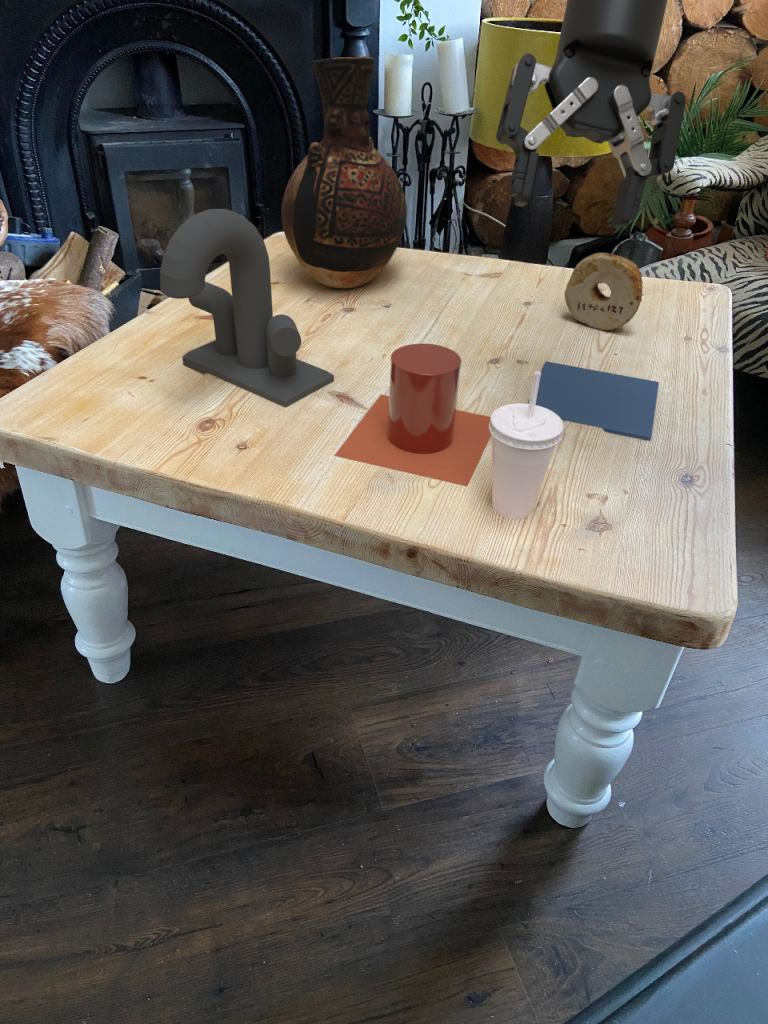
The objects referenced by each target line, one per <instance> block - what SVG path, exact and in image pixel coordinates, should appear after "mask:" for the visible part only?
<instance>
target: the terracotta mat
mask: <svg viewBox="0 0 768 1024" xmlns="http://www.w3.org/2000/svg"><path fill="white" fill-rule="evenodd" d="M388 411H389V395H386V394H381V393H380V395H379V396H378V397H377V399H376V400H375V401H374V403H373V404H372V405H371V407H370V408H369V409H368V411H366V413H365V415H364V416H363V417H362V419H361V420H360V421H359V422H358V423H357V425H356V426H355V427H354V428H353V430H352V432H351V433H350V434H349V435H348V437H347V438H345V440H344V442H343V443H342V444H341V446H340V447H339V448H338V450H337V451H336V452H335V453H334V454H333V456H334V457H337V458H342V459H345V460H350V461H355V462H359V463H364V464H368V465H372V466H375V467H381V468H385V469H389V470H394V471H398V472H403V473H407V474H411V475H416V476H420V477H424V478H429V479H432V480H436V481H442V482H444V483H445V482H446V483H450V484H454V485H459V486H463V487H468V486H469V483H470V481H471V480H472V478H473V476H474V473H475V472H476V469H477V467H478V465H479V463H480V460H481V459H482V456H483V454H484V452H485V450H486V447H487V446H488V443H489V441H490V440H491V438H492V434H491V433H490V430H489V423H490V419H491V416H488V415H483V414H479V413H474V412H469V411H465V410H459V409H456V416H455V426H454V435H453V441H452V443H451V445H450V446H449V447H447V448H446V449H444V450H442V451H439V452H436V453H430V454H417V453H410V452H407V451H404V450H401V449H399V448H397V447H395V446H394V445H393V444H392V443H391V442H390V441H389V439H388Z"/></svg>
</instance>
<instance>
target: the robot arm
mask: <svg viewBox="0 0 768 1024" xmlns="http://www.w3.org/2000/svg"><path fill="white" fill-rule="evenodd" d="M667 5H668V0H566V6H565V10H564V14H563V19H562V26H561V30H560V35H559V38H558V39H559V40H558V45H557V48H556V55H555V58H554V62H553V64H552V66H548V65H545V64H543V63H539V62H537V59H536V57H535V56H534V55H533V54H532V53H529V52H527V53H525V54H523V55H522V56H521V58H520V59H519V60H518V62H517V63H516V64H515V66H514V67H513V68H512V70H511V74H510V78H509V82H508V86H507V91H506V93H505V97H504V102H503V106H502V111H501V114H500V118H499V122H498V127H497V129H496V134H495V135H496V136H495V139H496V140H497V143H499V144H501V145H506V146H507V147H509V148H510V149H511V150H512V151H513V152H514V156H515V157H514V163H513V168H512V174H511V178H510V184H509V190H508V191H509V197H513V198H514V200H513V205H514V206H518V207H520V208H523V207H525V206H526V205H528V204H529V202H530V200H531V194H532V192H533V186H534V181H535V176H536V171H537V167H538V162H539V156H540V152H537V149H538V147H539V146H540V145H541V144H542V143H544V142H545V140H547V139H548V138H549V137H550V136H551V135H552V134H553V133H554V132H555V131H556V130H557V129H558V128H560V129H561V130H562V131H563V132H564V133H565V136H566V137H571V138H585V139H587V140H589V141H590V142H592V143H594V144H595V143H596V144H599V145H602V144H604V143H606V142H607V144H608V146H609V149H610V152H611V153H612V156H613V157H614V158H616V160H617V162H618V164H619V167H620V169H621V172H622V175H623V177H624V179H621V180H620V181H619V185H618V190H617V195H616V199H615V203H614V208H613V211H612V212H613V213H612V217H611V223H610V226H611V228H615V229H619V230H620V229H623V228H625V227H627V226H628V225H629V224H630V222H632V221H635V220H636V218H637V216H638V214H639V212H640V207H641V204H642V198H643V194H644V191H645V185H646V183H647V180H649V179H650V180H655V179H657V178H659V177H661V176H663V175H665V174H667V173H670V172H671V171H673V169H674V167H675V163H676V157H677V151H678V146H679V140H680V135H681V134H680V133H681V129H682V122H683V117H684V111H685V106H686V101H687V100H686V95H685V94H684V93H683V92H682V91H676V92H674V93H673V94H670V95H669V94H662V93H657V92H652V89H651V84H650V83H651V81H650V77H651V73H652V70H653V66H654V63H655V58H656V54H657V50H658V45H659V40H660V36H661V31H662V27H663V23H664V18H665V14H666V9H667ZM542 84H544V89H545V92H546V95H547V97H548V100H549V103H550V106H551V108H552V110H551V111H550V113H548V114H547V115H546V116H545V117H544V118H543V119H542V120H541V121H539V123H538V124H537V125H536V126H535V127H534V128H533V129H532V130H531V131H528V130H526V129H525V128H524V127H522V126H521V123H522V120H523V116H524V113H525V108H526V104H527V100H528V97H529V95H532V94H533V93H534V92H536V90H537V89H538V88H539V86H540V85H542ZM645 110H646V111H647V112H648V114H649V123H650V124H651V125H652V126H653V129H652V135H651V139H650V140H651V141H650V145H649V152H647V150H646V149H647V148H646V147H645V135H644V132H643V129H642V127H641V124H640V121H639V119H638V117H639V116H640V115H641V114H642V113H643V112H644V111H645Z"/></svg>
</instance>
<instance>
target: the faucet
mask: <svg viewBox="0 0 768 1024" xmlns="http://www.w3.org/2000/svg"><path fill="white" fill-rule="evenodd" d="M220 255H224V256H225V257H226V259H227V261H228V265H229V278H230V288H231V293H230V292H229V291H228V290H226V289H225V288H223V287H220V286H219V285H216V284H213V283H210V282H208V281H206V277H207V273H208V270H209V268H210V266H211V264H212V263H213V261H214V260H215V259H216V258H217V257H219V256H220ZM271 278H272V277H271V266H270V255H269V252H268V249H267V246H266V243H265V240H264V238H263V237H262V235H261V233H260V232H259V231H258V229H257V227H256V226H255V225H254V224H253V223H252V222H251V221H249V219H247V218H246V217H245V216H244V215H242V214H240V213H238V212H235V211H233V210H229V209H227V208H208V209H205V210H203V211H200V212H198V213H194V214H193V215H192V216H190V217H189V218H188V219H187V220H185V221H184V222H183V223H182V224H181V225H180V226H179V227H178V228H177V229H176V231H175V232H174V234H173V235H172V236H171V238H170V239H169V242H168V244H167V246H166V248H165V251H164V253H163V256H162V261H161V266H160V271H159V280H160V281H159V284H160V285H159V287H160V288H159V290H160V293H162V294H163V295H164V296H166V297H168V298H170V299H179V300H180V299H181V300H183V299H187V300H188V301H189V304H190V305H191V306H192V307H194V308H197V309H199V310H201V311H203V312H205V313H209V314H211V316H212V319H213V329H214V337H215V339H214V340H212V341H210V342H207V343H205V344H203V345H200V346H198V347H196V348H194V349H192V350H189V351H187V352H186V353H185V354H183V355H182V357H181V359H182V365H183V366H185V367H187V368H189V369H192V370H194V371H196V372H198V373H201V374H203V375H207V374H209V375H211V376H213V377H214V378H218V379H220V380H222V381H225V382H227V383H228V384H231V385H233V386H235V387H238V388H240V389H243V390H245V391H247V392H249V393H252V394H254V395H256V396H258V397H259V398H260V397H261V398H263V399H265V400H267V401H269V402H272V403H274V404H276V405H279V406H281V407H283V408H285V409H286V408H288V407H290V406H292V405H294V404H296V403H297V402H299V401H300V400H302V399H305V398H307V397H309V396H310V395H312V394H314V393H316V392H317V391H319V390H321V389H323V388H324V387H326V386H329V385H330V384H332V383H334V382H335V375H334V374H332V373H331V372H329V371H328V370H325V369H323V368H321V367H319V366H316V365H314V364H311V363H309V362H306V361H303V360H301V359H298V358H297V352H299V350H300V348H301V346H302V337H301V334H300V332H299V330H298V327H297V324H296V323H295V321H294V320H293V319H292V318H291V316H288V315H287V314H281V313H280V314H276V315H274V312H273V311H274V310H273V295H272V279H271Z"/></svg>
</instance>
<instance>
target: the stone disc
mask: <svg viewBox="0 0 768 1024" xmlns="http://www.w3.org/2000/svg"><path fill="white" fill-rule="evenodd" d="M643 281H644V280H643V276H642V272H641V271H640V268H639V266H638V265H637V264H636V263H635V262H633V261H632V260H630V259H629V258H626V257H623V256H621V255H617V254H613V253H608V252H596V253H593V254H590V255H588V256H586V257H584V258H582V259H581V260H580V261H579V262H578V263H577V264H576V266H575V267H574V268H573V271H572V272H571V275H570V276H569V280H568V281H567V284H566V286H565V290H564V301H565V304H566V307H567V309H568V311H569V312H570V314H571V316H572V317H573V318H574V319H575V320H577V321H578V322H580V323H582V324H585V325H587V326H588V327H589V328H592V329H598V330H601V331H611V330H612V331H613V330H617V329H619V328H621V327H623V326H625V325H626V324H627V323H629V322H630V321H631V320H632V319H633V318H634V317H635V315H636V314H637V313H638V311H639V308H640V305H641V303H642V299H643V298H642V297H643V288H644V287H643V285H644V284H643V283H644V282H643ZM599 284H605V285H607V286H608V288H609V290H610V295H609V296H606V295H605V294H604V293H603V292H602V291H601V289H600V287H599Z"/></svg>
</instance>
